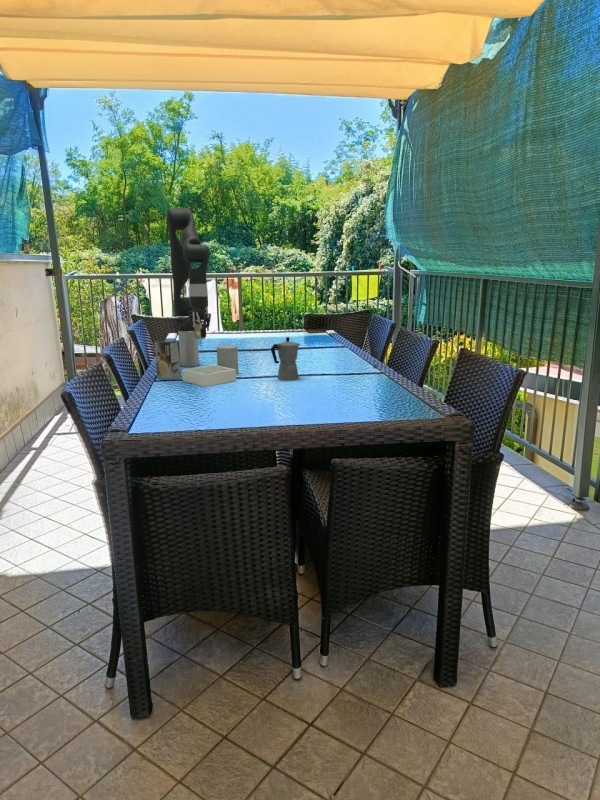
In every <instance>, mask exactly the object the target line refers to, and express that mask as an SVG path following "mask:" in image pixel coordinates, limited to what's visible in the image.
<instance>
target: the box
mask: <svg viewBox="0 0 600 800" xmlns="http://www.w3.org/2000/svg"><path fill="white" fill-rule="evenodd" d="M182 382H185V383H189V384H194V385H196V386H201V387H205V388H206V387H210V386H216V385H221V384H227V383H228V384H229V383H233V382H237V375H236V369H231V368H226V367H221V366H217V364H215V365H214V364H210V365H205V366H195V367H192V368H191V367H190V368H183V369H182Z"/></svg>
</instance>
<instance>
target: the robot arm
mask: <svg viewBox="0 0 600 800" xmlns="http://www.w3.org/2000/svg"><path fill="white" fill-rule="evenodd" d="M166 211H167V212H166V221H167V231H168V236H169V237H168V238H169V245H170V246H169V247H170V249H169V250H170V264H171V265H170V267H171V277H172V286H173V311H174V315H175V316H176V317H178V318H179V317H180V318H181V317H183V318H184V317H188V318H189V319H188V320H187V321H185V322H183V323H180V324H178V327H177V329H178V331H177V332H178V341H179V349H180V364H181V367H186V368H187V367H190V368H191V367H199V365H200V355H199V354H200V353H199V349H200V348H199V339H196V337H195V324H200V327H201V329H200V330H201V338H205V339H206V338H207V328H209V327H210V325H211V320H212V319H211V318H212V314H211V313H210V312H208V311H207V307H209V290H208V284H207V283H208V282H207V280H208V279H207V269H208V264H209V261H210V256H211V251H210V248H209V247H208V246H207V244H202V243H201V240H200V238H199V235H198V233H197V228H196V223H195V219H194V214H193V212H192V210H191V209H190V208H189V207H177V208H176V207H175V208H174V207H173V208H168V209H167V210H166ZM177 231H181V235H180V239H181V240H180V239H179V237H178V235H177ZM193 263H196V264H197V263H200V265H199V266H198V267H195V268H193V266H192V265H193ZM187 282H188V283H189V284H188V296H186V297H185V296H182V297H181V295H182V291H183V289H184V287H185V285H186V284H187Z"/></svg>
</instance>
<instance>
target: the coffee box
mask: <svg viewBox="0 0 600 800" xmlns="http://www.w3.org/2000/svg"><path fill="white" fill-rule="evenodd" d="M154 349H155V350H154V353H155V354H154V355H155V363H156V364H155V365H156V376H157V377H156V378H157V379H161V380H162V379H163V380H165V379H166V380H176V379H180V378H182V366H181V364H180V349H179V340H178V341H176V340H166V339H165V340H157V341H154Z"/></svg>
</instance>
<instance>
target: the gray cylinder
mask: <svg viewBox="0 0 600 800" xmlns="http://www.w3.org/2000/svg"><path fill="white" fill-rule="evenodd" d="M238 348H239V347H238V346H237V345H231V344H230V345H229V344H228V345H218V346H216V366H221V367H226V368H231V369H236V376H237V375H239V352H238V351H239V350H238Z"/></svg>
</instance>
